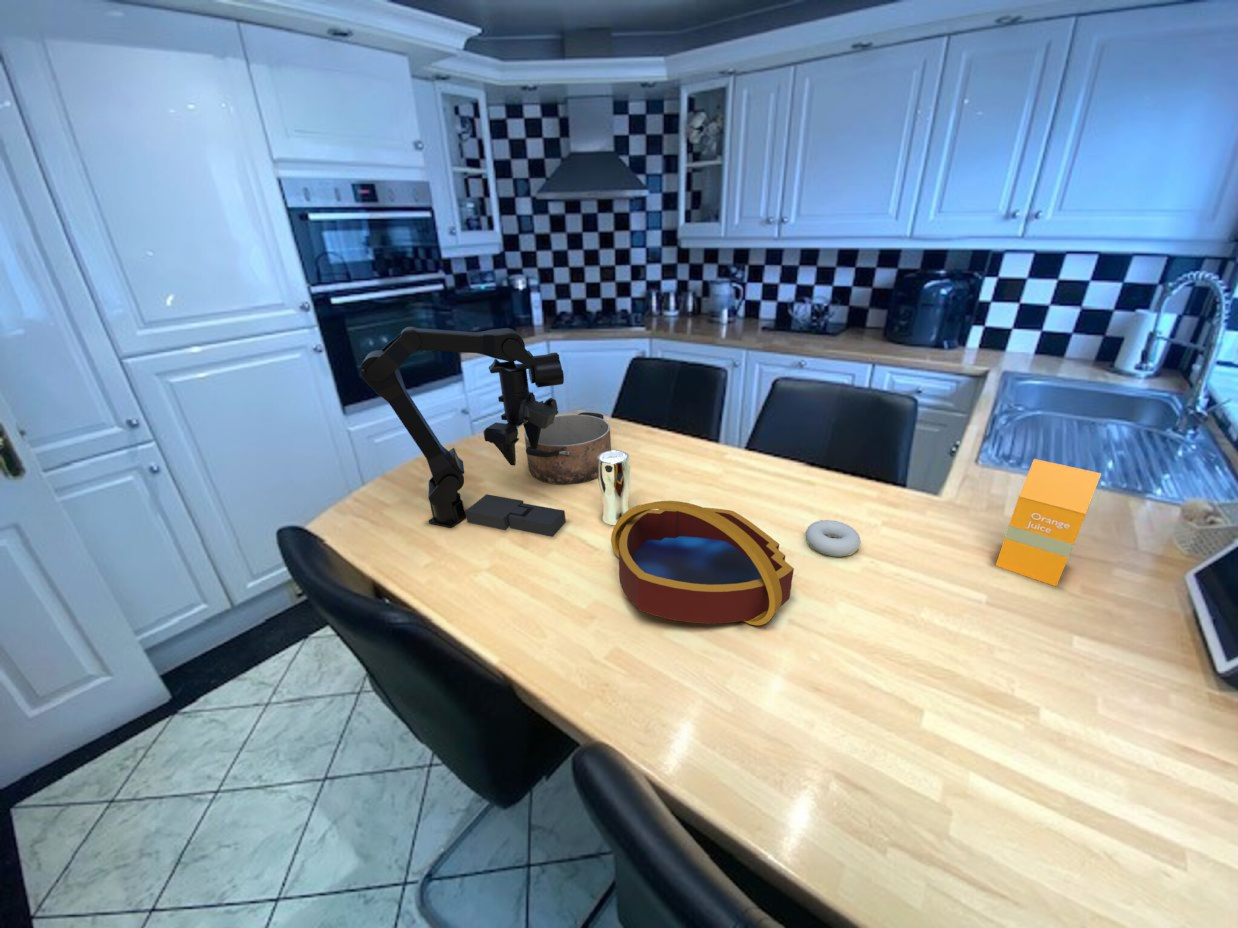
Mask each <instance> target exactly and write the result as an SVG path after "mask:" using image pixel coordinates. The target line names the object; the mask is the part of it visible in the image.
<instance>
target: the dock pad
mask: <svg viewBox="0 0 1238 928" xmlns="http://www.w3.org/2000/svg"><path fill="white" fill-rule="evenodd" d="M523 503H525V501H524V500H522V499H516V498H511V497H505V496H500V495H499V496H498V495H495V494H494V495H493V494H485V495H483V496H482V497H481V498H480V499H478V501H476V502H474V503H473V504H472V505H470V507H468V508H467V509H465V510H464V511H465V513H466V517H465V518H466V522H467V523H469V524H474V525H478V526H482V527H483V526H484V527H489V528H493V529H497V530H503V531H506V530H507V529H508V528H510V523H509V517H508V516H509V515H511V514H512V515H517V516H523V517H525V516H526V515H527V514H528V508H523V507H521V505H522V504H523Z"/></svg>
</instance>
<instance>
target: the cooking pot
mask: <svg viewBox="0 0 1238 928" xmlns="http://www.w3.org/2000/svg"><path fill="white" fill-rule="evenodd" d="M523 435H524V442H525V453H526V460H527V466H528V470H529V471H528V472H529V473H530V475H532V477H534V478H535V479H536V480H538V481H541V482H544V483H547V484H552V485H575V484H581V483H587V482H589V481H593V480H595V479H598V455H599V454H601V453H603V452H605V451H611V450H612V443H611V442H612V440H611V426H610V423H609V422H608V421H607V420H605V419H604V415H603V414H602V413H598V412H591V411H583V412H579V413H578V414H561V415H555V418H554V422H553V424H550V425H549V426H548V427H547V428H545V429H542V428H541V431H540V436H539V441H538V446H537V449H532V447H531V445H530V442H529V440H528V437H527V434H526V431H525V430H524V433H523Z"/></svg>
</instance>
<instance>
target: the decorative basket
mask: <svg viewBox="0 0 1238 928" xmlns="http://www.w3.org/2000/svg"><path fill="white" fill-rule="evenodd" d="M610 543H611V547H612V550H613V552H614V554H615V556H616V557H617V558H618V576H619V583H620V586H621V588H622V590H623V593H624V594H625V596H626V598H628V600H629V602H630V603H631V604H632V605H633V606H634V607H635V608H636V609H637V610H638V611H639V612H640V611H641V612H644V613H647V614H649V615H652V616H656V617H659V618H664V619H668V620H673V621H680V622H686V623H693V624H727V623H736V622H744V623H746V624H749V625H750V626H752V625H753V626H762V625H766V624H768V623H769V622H770V621H771V619H772V618H773V617H774V616H775V615H776V613H777V612H778V611H779V609H780V607H781V606H782V605H784V604H785V603H786V602H787V601H788V600H789V599H790V596H791V590H792V583H793V577H794V571H795V568H794V567H793V566H792V565H791V564H789V563H788V562H787V561H786V554H785V553H784V552H782V551H780V543H779V542H778V541H776V540H775V539H774V538H773V537H772V536H770V535H769V534H767V533H766V532H765V531H764V530H762V529H761V528H760V527H758V526H757V525H756V524H754V523H753V522H751V521H750V520H748V519H747V518H746V517H744V516H743V515H741V514H739V513H738V512H736V511H734V510H731V509H725V508H724V509H723V508H716V507H715V508H714V507H705V506H701V505H697V504H693V503H690V502H684V501H680V500H679V501H678V500H677V501H676V500H659V501H652V502H648V503H643V504H639V505H636V506H633V507H632V508H629V510H628V511H627V512H625V513H624V514H623V515H622V516H621V517H620V519H619V520H618V521H617V523H616V525H614V527H613V529H612V531H611V537H610Z"/></svg>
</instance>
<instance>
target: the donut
mask: <svg viewBox="0 0 1238 928" xmlns="http://www.w3.org/2000/svg"><path fill="white" fill-rule="evenodd" d="M805 540H806V542H807V544H808V546H810V547H811V548H812V549H814V550H815V551H816V552H818V553H820V554H822V555H826V556H829V557H847V556H850V555H853V554H854V553H856V552H857V551H858V550H859V548H860V545H861V537H860V534H859V533H858V532H857V530H856V529H855V528H853V527H852V526H851V525H849V524H847V523H844V522H842V521H838V520H832V519H823V520H818V521H815V522H813V523H811V524H809V525H808V527H807V528H806V530H805Z"/></svg>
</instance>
